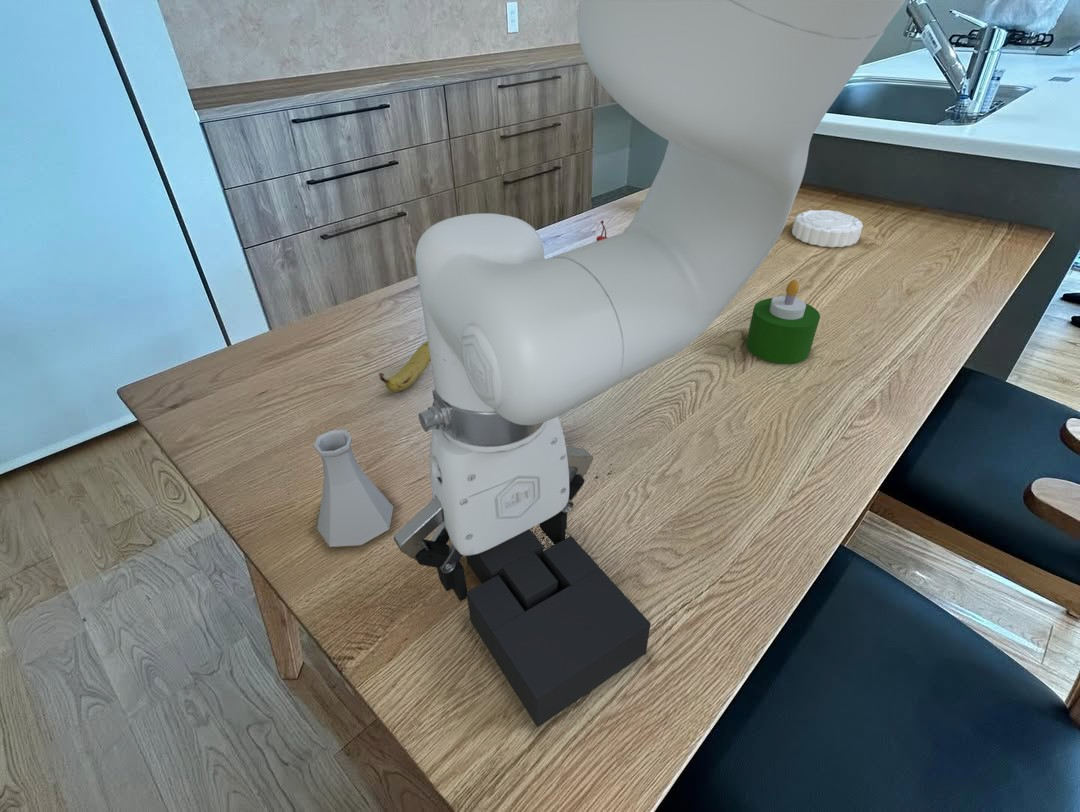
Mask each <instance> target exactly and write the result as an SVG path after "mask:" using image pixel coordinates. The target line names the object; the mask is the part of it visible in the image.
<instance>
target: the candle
mask: <svg viewBox="0 0 1080 812" xmlns="http://www.w3.org/2000/svg"><path fill="white" fill-rule="evenodd" d="M799 289H800V286H799V282H798V280H795V279H792V280H790V282H788V284H787V285H786V288H785V293H786V295H779V296H775V297H770V298H764V299H762V300H759V301H757V302H756V303H755V304H754V306H753V309H752V314H751V319H750V323H749V328H748V333H747V337H746V341H745V347H746V349H747V350H748V352H750V354H752V355H753V356H755V357H756V358H758V359H760V360H763V361H766V362H768V363H774V364H780V365H791V364H798V363H802V362H804V361H805V360H807V359H808V358H809V356H810V353H811V350H812V346H813V343H814V339H815V336H816V333H817V330H818V326H819V323H820V319H821V313H820V312H819V311H818V310H817V309H816V308H815V307H814V306H812V305H810V304H808V303H806V302H805V301H804V300H802V299H801V298H798V297H796V296H797V294H798V292H799Z"/></svg>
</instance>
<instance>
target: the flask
mask: <svg viewBox="0 0 1080 812" xmlns="http://www.w3.org/2000/svg"><path fill="white" fill-rule="evenodd" d="M352 443H353V436H352V435H351V434H350V433H349V432H348V431H347V429H332V430H328V431H326V432H325V433H322V434H319V435H317V436H316V439H315V442H314V444H313V448H314V449H315V451H316V452H317V453H318V455H319V456H320V458H321V462H322V469H323V470H322V472H323V484H322V492H321V493H322V494H321V502H320V508H319V513H318V520H317V527H316V530H317V531H318V532H319V534H320V535H321V536H322V539H324V541H325V542H326V543H327V545H328V546H329V548H333V547H334V548H335V547H336V548H337V547H351V546H362V545H364V544H366V543H368V542H370V541H371V540H373V539H375V538H376V537H378V536H381V535H382V534H383V533H385V532H387V531H389V530H390V528H391V523H392V517H393V512H394V508H395V507H394V506H393V504H392V503H391V502H390V501H389V500H388V499H387V498H386V495H384V494H383V493H382V492H381V491H380V490H379V488H378V487H377V486H376V485H375V484H374V482H373V481H372V480H371V479H370V478H369V477H368V475H367V474H366V473H365V472H364V471H363V469H362V468H361V466H360V464H359V462H358V460H357V458H356V456H355V454H354V452H353V449H352Z"/></svg>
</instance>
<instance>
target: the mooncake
mask: <svg viewBox="0 0 1080 812" xmlns="http://www.w3.org/2000/svg"><path fill="white" fill-rule="evenodd" d="M863 228H864V225H863V222H862V221H861V220H859V218H857V217H855V215H852V214H847V213H844V212H841V211H838V210H831V209H821V210H817V209H816V210H815V209H814V210H813V209H812V210H811V209H810V210H807V211H802V212H800V213H798V214H797V215H796V216H795V217H794V220H793V224H792V229H791V232H792V233H791V234H792V236H793V237H794V238H795V240H800V241H801V242H802V243H807V244H808V245H813V246H818V247H822V248H824V247H826V248H827V247H828V248H831V249H833V248H844V247H850V246H853V245H855V244H857V242H858V241H859V240H860V237H861V234H862V232H863V231H862V230H863Z"/></svg>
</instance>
